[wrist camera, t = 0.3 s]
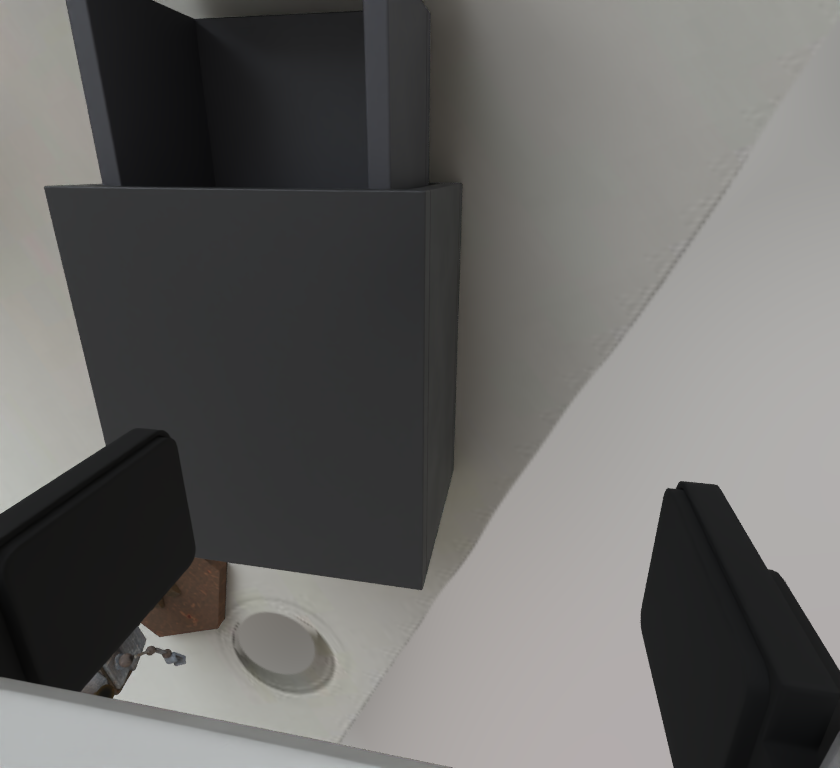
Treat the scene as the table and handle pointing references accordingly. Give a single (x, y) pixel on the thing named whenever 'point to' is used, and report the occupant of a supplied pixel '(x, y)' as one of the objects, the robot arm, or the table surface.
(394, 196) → the drawer cabinet
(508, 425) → the table surface
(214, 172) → the pull-out drawer
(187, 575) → the robot figurine
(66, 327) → the table surface
